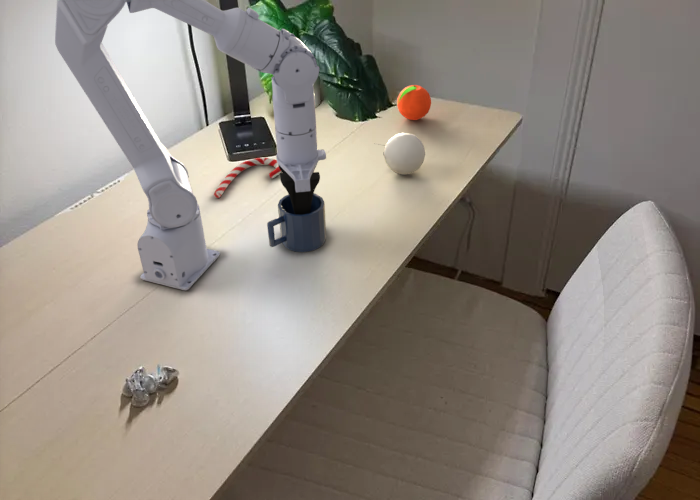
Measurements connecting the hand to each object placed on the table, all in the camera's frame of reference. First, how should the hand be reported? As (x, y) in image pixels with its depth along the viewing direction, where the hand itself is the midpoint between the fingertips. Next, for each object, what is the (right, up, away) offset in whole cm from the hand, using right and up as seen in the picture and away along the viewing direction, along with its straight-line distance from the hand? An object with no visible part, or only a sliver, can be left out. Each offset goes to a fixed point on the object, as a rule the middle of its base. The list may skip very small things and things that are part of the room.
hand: (301, 209), depth 102 cm
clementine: (+20, +21, +38) cm, 47 cm away
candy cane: (-11, +6, +18) cm, 22 cm away
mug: (-1, -5, +3) cm, 6 cm away
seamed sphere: (+16, +8, +21) cm, 27 cm away
